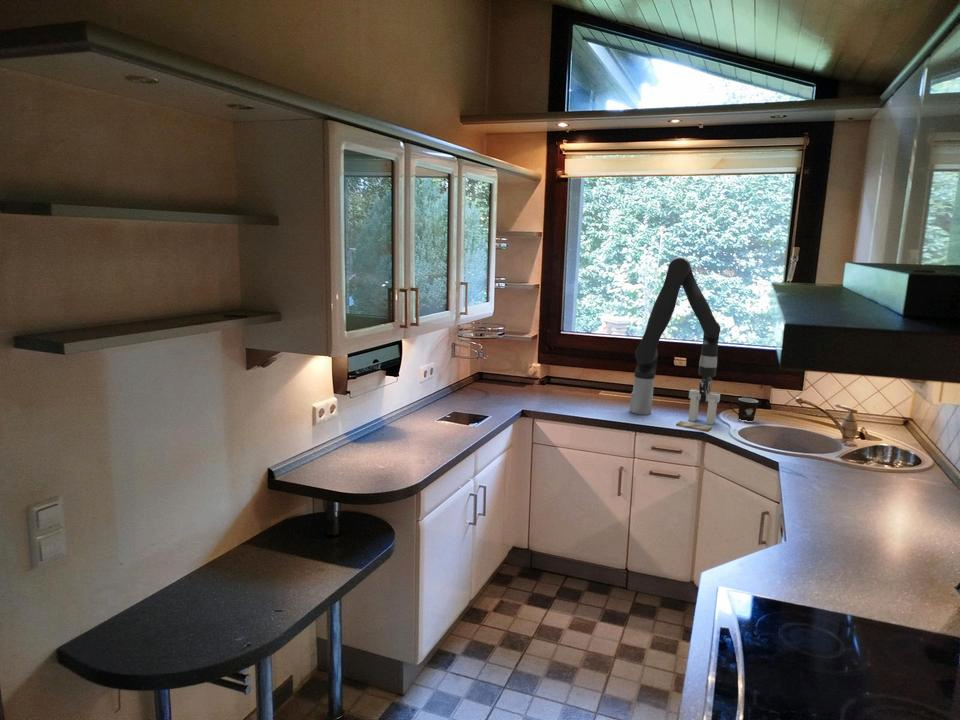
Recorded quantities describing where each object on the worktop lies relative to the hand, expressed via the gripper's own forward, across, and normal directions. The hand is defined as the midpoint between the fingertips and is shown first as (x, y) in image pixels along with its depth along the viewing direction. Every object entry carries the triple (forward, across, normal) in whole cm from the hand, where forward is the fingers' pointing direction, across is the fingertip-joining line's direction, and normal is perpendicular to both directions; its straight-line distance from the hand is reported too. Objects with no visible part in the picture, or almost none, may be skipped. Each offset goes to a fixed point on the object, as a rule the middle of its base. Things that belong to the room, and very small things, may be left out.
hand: (703, 401), depth 303 cm
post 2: (+9, 0, +4) cm, 10 cm away
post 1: (+9, 0, -4) cm, 10 cm away
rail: (-1, 0, 0) cm, 1 cm away
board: (+9, +13, 0) cm, 16 cm away
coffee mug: (+9, -14, +15) cm, 23 cm away
